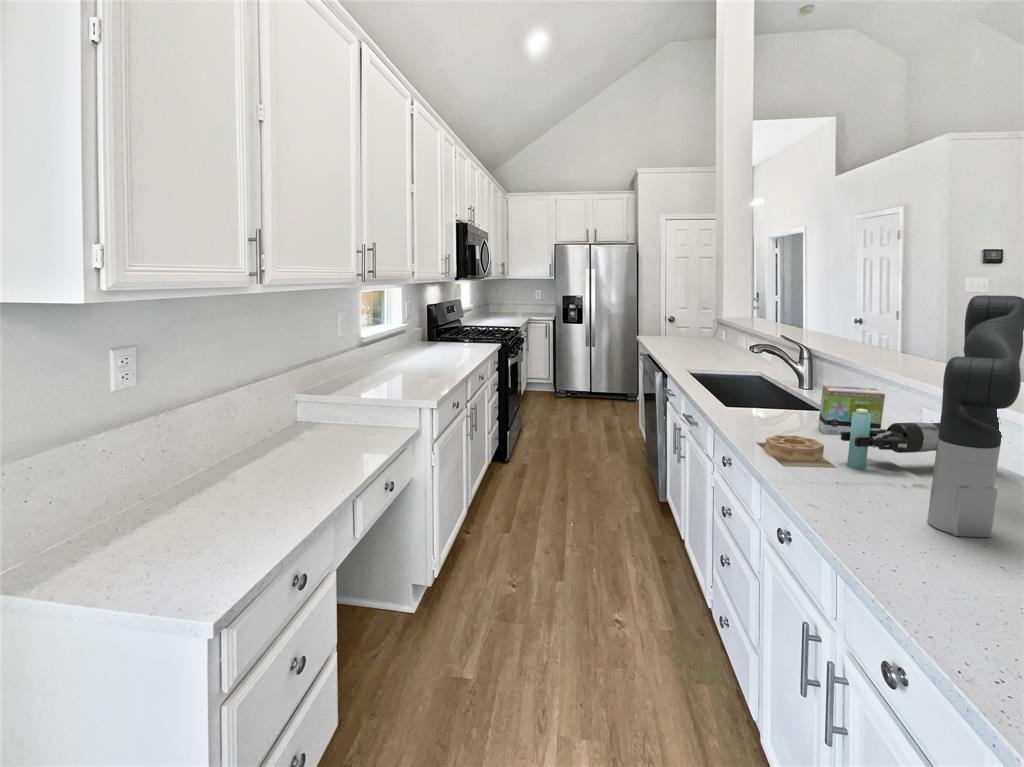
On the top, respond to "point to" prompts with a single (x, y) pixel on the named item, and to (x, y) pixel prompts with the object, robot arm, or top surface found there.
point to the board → (787, 463)
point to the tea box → (848, 407)
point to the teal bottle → (858, 429)
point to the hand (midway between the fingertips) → (849, 439)
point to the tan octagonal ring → (794, 448)
